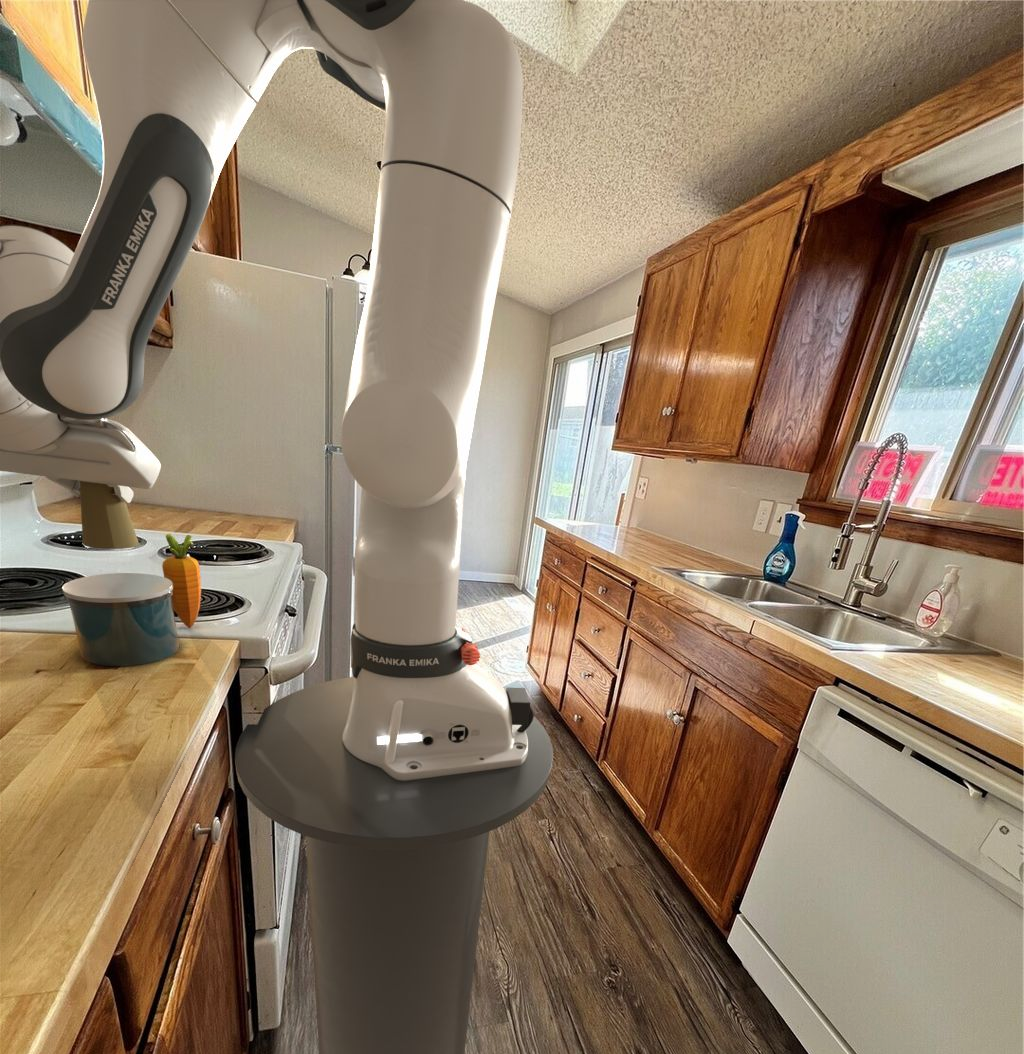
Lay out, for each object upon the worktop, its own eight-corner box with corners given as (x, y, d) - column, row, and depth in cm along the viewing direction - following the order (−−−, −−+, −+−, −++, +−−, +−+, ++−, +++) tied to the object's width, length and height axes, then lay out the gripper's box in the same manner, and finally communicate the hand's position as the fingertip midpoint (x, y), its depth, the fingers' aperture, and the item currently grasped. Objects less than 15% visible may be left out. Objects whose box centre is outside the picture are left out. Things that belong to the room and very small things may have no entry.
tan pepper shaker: (90, 537, 74) (72, 449, 70) (143, 539, 76) (129, 454, 72) (76, 547, 69) (55, 453, 64) (133, 549, 71) (117, 458, 67)
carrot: (203, 620, 92) (191, 529, 86) (210, 630, 89) (198, 535, 82) (168, 624, 89) (153, 530, 83) (175, 634, 86) (160, 536, 79)
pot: (194, 636, 86) (185, 575, 82) (163, 668, 75) (152, 600, 71) (103, 633, 83) (90, 570, 79) (58, 666, 72) (40, 595, 68)
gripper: (126, 396, 59) (193, 485, 72) (-60, 374, 59) (40, 466, 72) (102, 442, 56) (176, 526, 69) (-90, 418, 57) (19, 506, 70)
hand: (106, 495), depth 71 cm, fingers closed on tan pepper shaker, 4 cm apart
